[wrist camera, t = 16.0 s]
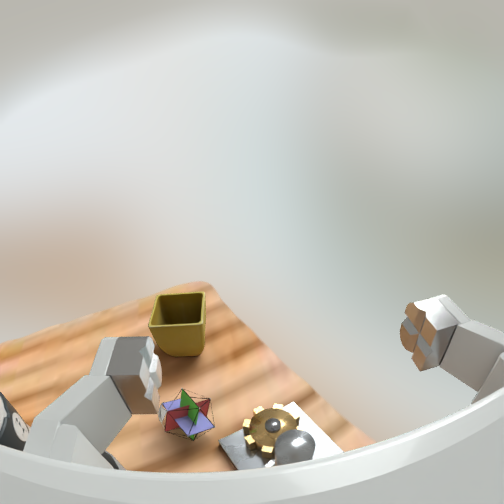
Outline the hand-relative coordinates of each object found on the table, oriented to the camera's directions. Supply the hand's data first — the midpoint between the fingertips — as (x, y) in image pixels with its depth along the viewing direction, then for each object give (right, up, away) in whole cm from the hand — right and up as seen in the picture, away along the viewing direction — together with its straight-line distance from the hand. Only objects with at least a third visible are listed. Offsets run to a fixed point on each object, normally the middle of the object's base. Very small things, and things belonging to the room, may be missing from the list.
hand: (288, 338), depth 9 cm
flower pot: (-13, -15, +44) cm, 48 cm away
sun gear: (+2, -22, +27) cm, 35 cm away
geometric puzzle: (-9, -22, +29) cm, 38 cm away
